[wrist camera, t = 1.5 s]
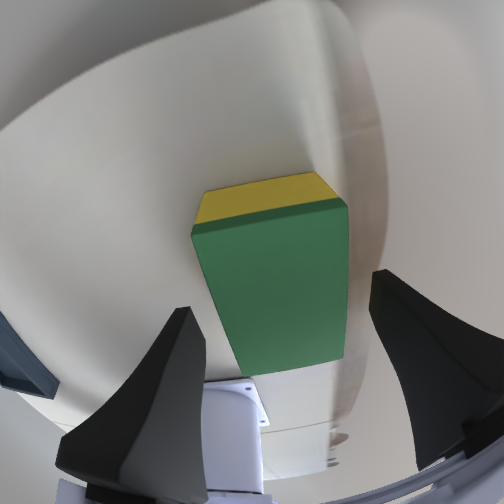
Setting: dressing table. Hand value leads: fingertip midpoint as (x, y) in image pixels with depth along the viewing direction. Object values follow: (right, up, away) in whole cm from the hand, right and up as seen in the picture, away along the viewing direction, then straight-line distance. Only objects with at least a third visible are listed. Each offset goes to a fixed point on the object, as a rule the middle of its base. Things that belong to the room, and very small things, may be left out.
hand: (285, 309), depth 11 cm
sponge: (0, +2, +3) cm, 4 cm away
